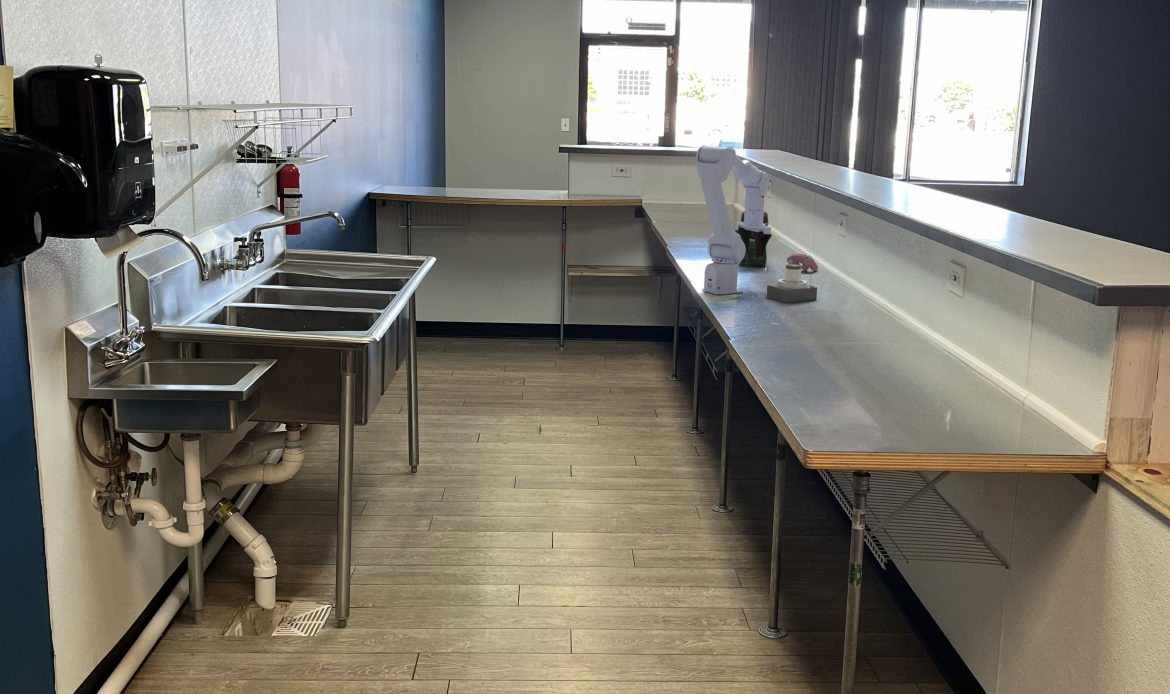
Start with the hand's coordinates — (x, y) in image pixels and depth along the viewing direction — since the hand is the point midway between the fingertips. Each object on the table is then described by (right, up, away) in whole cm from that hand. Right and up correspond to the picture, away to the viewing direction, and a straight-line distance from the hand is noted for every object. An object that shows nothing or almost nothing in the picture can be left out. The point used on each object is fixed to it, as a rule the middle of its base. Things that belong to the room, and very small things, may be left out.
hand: (751, 254), depth 316 cm
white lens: (+9, -11, -18) cm, 23 cm away
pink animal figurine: (+22, -3, +31) cm, 38 cm away
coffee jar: (+6, 0, +39) cm, 40 cm away
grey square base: (+9, -14, -17) cm, 24 cm away
